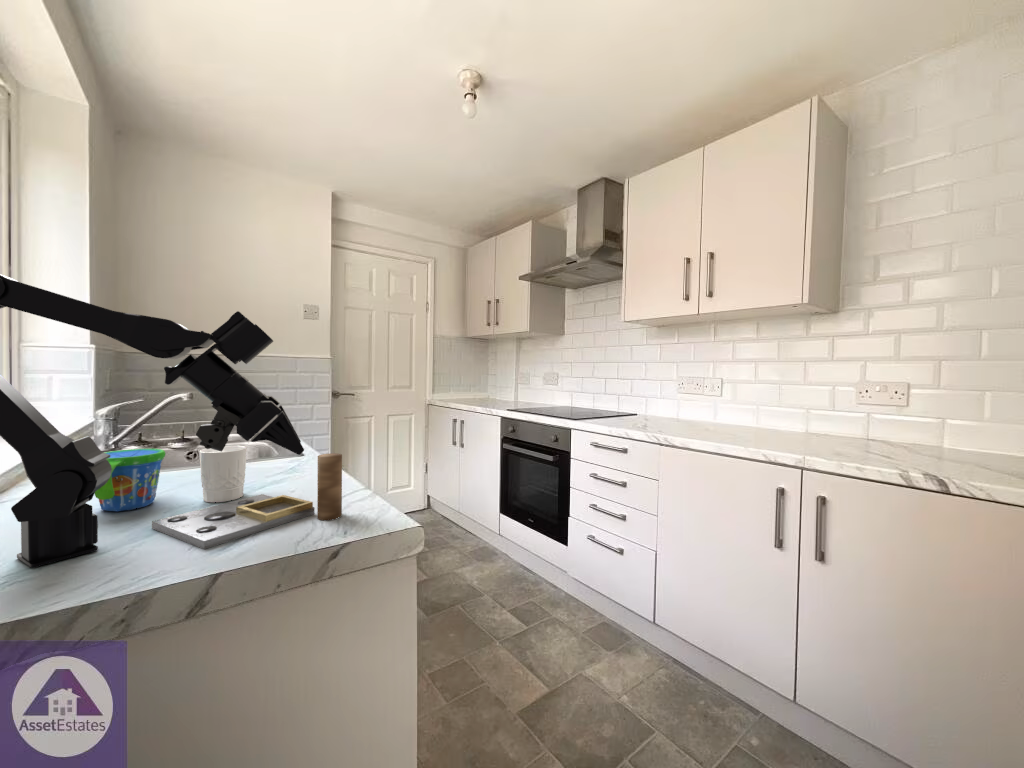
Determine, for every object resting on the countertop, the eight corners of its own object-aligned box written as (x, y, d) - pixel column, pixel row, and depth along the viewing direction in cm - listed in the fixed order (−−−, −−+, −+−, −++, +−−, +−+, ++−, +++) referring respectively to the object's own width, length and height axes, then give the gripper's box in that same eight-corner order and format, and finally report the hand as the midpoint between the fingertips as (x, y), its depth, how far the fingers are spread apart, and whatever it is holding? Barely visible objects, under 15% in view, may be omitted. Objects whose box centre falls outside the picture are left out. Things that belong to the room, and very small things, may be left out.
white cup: (255, 493, 90) (255, 446, 89) (226, 504, 82) (226, 453, 81) (220, 491, 90) (220, 444, 90) (189, 502, 83) (189, 451, 82)
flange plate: (204, 549, 61) (204, 534, 61) (151, 528, 69) (151, 515, 69) (314, 513, 77) (314, 501, 77) (262, 500, 85) (262, 489, 85)
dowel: (318, 521, 73) (318, 458, 73) (316, 514, 77) (316, 454, 76) (343, 518, 75) (343, 456, 75) (340, 511, 79) (340, 452, 78)
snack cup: (124, 495, 86) (124, 446, 86) (183, 493, 89) (183, 445, 88) (60, 522, 71) (59, 462, 71) (133, 519, 73) (132, 460, 73)
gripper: (188, 416, 73) (263, 473, 79) (164, 429, 57) (261, 499, 63) (242, 371, 77) (310, 428, 82) (234, 371, 60) (319, 442, 66)
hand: (300, 448), depth 73 cm, fingers open, 9 cm apart
